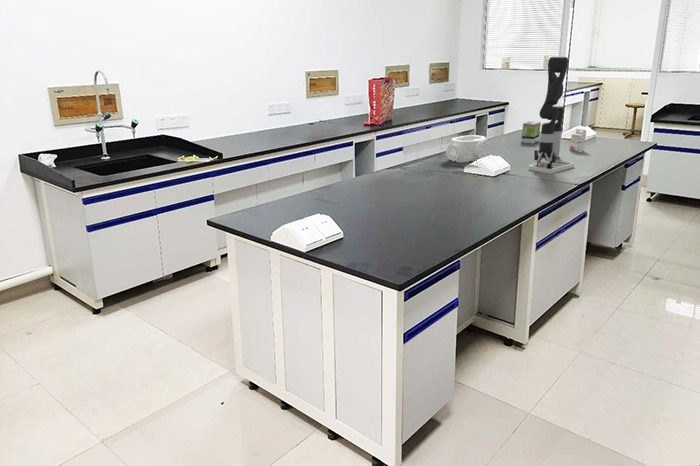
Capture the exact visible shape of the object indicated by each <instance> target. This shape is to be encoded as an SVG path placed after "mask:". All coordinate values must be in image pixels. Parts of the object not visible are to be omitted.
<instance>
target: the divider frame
mask: <svg viewBox="0 0 700 466" xmlns="http://www.w3.org/2000/svg"><path fill="white" fill-rule="evenodd" d="M545 162H548V160H547V161H545ZM575 165H576V164H575V163H574V162H569V161H563V160H557V159H556V161H555V163H552V167H551V169H547V168H542V167H537V163H534V164H530V165H528V170H529V171H533V172H534V171H535V172H538V171H539V173H545V174H549V175H550V174H555V173H558V172H562V171H565V170H569V169H573V168H575Z"/></svg>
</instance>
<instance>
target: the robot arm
mask: <svg viewBox="0 0 700 466" xmlns="http://www.w3.org/2000/svg"><path fill="white" fill-rule="evenodd" d="M568 65H569V57H567V56H550V57H549V59H548V61H547V76H548V77H547V78H548V79H547V81H548V82H547V91H546V95H545V100H544V102H543V104H542V106H541V108H540V110H539V116H540V118H541V119H543V120H548V121H549V122H545V123H541V128H540V135H539V146H538V147H539V149H535V150H534V157H533V159H534V161H536V162H537V163H536V164H537V167H538V163H539V162H542V160H543V159H546V160H547V161H548V163H549V164H548V169H551V167H552V163H555V161H556V160H557V158H558V157H559V156H560V149H561V139H562V138H561V137H562V129H563V121H564V114H565V108H564V106H562V105H557V104H558V102H559V101H560V99H561V98H562V97H563V94H564V84H563V83H564V81H565V77H566V74H567V70H568V67H569V66H568ZM557 74H559V75H558V76H557Z"/></svg>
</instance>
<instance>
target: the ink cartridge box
mask: <svg viewBox="0 0 700 466" xmlns="http://www.w3.org/2000/svg"><path fill="white" fill-rule="evenodd" d="M586 137H587V130H586V129H579V128H576V129H575V133H571V138H570V145H569V151H571V152H577V151H578V153H581V152H585V145H586V139H587V138H586Z"/></svg>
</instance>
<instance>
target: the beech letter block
mask: <svg viewBox="0 0 700 466" xmlns="http://www.w3.org/2000/svg"><path fill="white" fill-rule="evenodd" d="M548 164H549V163H548V162H546V161H544V160H543V161H541V162H539V163H538V167H542V168H547V169H548Z"/></svg>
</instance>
